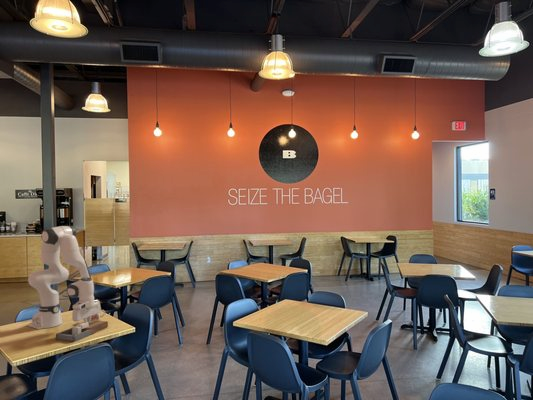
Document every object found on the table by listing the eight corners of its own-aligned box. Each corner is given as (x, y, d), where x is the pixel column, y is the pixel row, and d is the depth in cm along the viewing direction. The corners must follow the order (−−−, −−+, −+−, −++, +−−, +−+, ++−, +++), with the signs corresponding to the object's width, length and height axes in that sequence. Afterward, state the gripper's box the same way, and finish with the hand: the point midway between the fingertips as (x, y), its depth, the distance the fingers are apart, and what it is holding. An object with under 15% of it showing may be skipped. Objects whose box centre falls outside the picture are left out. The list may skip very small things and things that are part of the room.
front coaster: (75, 333, 238) (72, 334, 235) (75, 325, 238) (72, 326, 235) (81, 334, 236) (77, 335, 233) (81, 326, 236) (78, 327, 234)
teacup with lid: (86, 324, 257) (86, 307, 257) (86, 320, 266) (86, 304, 266) (105, 321, 263) (104, 305, 263) (104, 317, 271) (104, 302, 271)
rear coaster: (76, 328, 238) (76, 324, 238) (82, 325, 243) (82, 321, 243) (82, 329, 236) (82, 325, 236) (88, 326, 241) (88, 322, 241)
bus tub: (56, 339, 230) (55, 333, 230) (73, 332, 242) (73, 326, 242) (73, 342, 225) (73, 336, 225) (91, 334, 237) (91, 329, 237)
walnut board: (73, 332, 242) (73, 326, 242) (91, 325, 255) (90, 319, 255) (91, 334, 237) (91, 328, 237) (107, 327, 250) (107, 321, 250)
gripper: (95, 298, 254) (96, 318, 254) (70, 306, 235) (70, 328, 235) (102, 299, 252) (103, 319, 252) (77, 307, 233) (78, 329, 233)
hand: (87, 323), depth 243 cm, fingers closed
